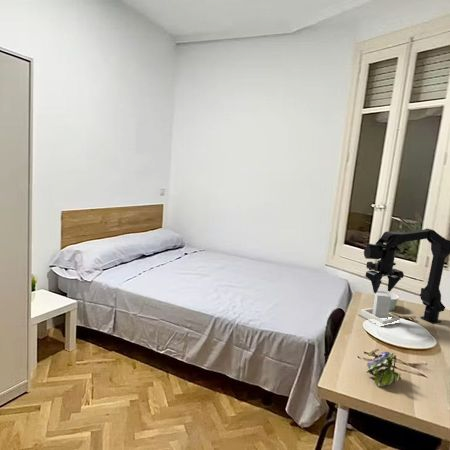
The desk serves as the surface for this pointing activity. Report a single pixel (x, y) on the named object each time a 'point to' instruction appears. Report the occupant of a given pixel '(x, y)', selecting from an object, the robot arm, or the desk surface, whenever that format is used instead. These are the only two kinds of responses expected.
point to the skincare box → (381, 305)
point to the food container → (393, 299)
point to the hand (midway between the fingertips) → (382, 292)
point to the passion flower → (380, 362)
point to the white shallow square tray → (368, 315)
